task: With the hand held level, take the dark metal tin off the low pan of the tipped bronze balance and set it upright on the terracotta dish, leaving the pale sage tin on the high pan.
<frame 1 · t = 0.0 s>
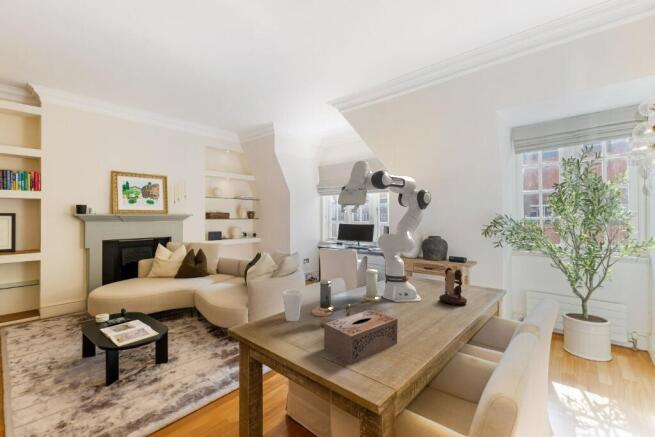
hand: (348, 212, 154), 52 cm above the table, tool tilted 20°, fingers open, 8 cm apart
light tin: (371, 296, 130), point 14 cm above the table, touching balance
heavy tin: (325, 306, 132), point 8 cm above the table, touching balance
foam cup: (292, 319, 138), on the table
brown wooden figurine: (452, 302, 167), on the table
tissue box cover: (361, 347, 111), on the table
balance: (347, 325, 131), on the table
dish: (321, 313, 147), on the table
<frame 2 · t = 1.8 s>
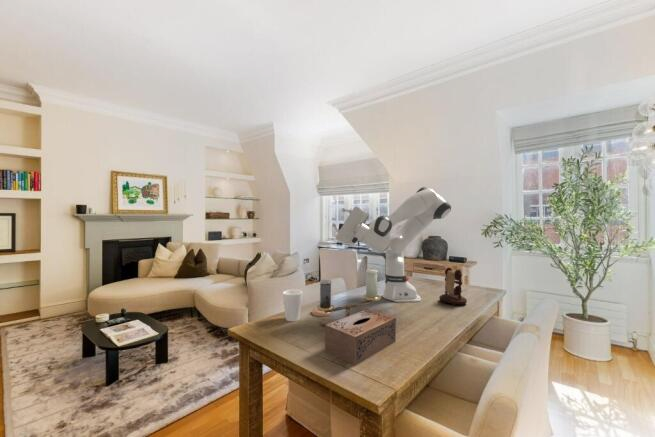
hand: (337, 216, 146), 50 cm above the table, tool pointing upward, fingers open, 8 cm apart
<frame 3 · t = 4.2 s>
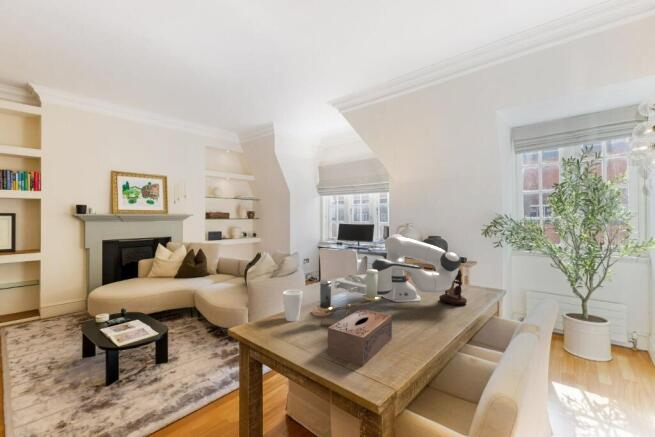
hand: (342, 288, 140), 14 cm above the table, tool horizontal, fingers open, 8 cm apart
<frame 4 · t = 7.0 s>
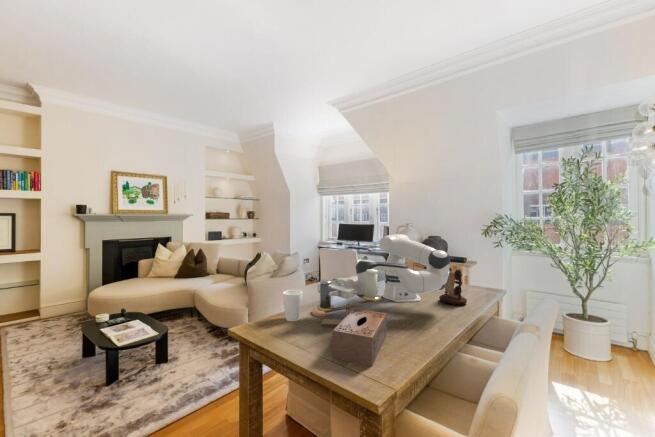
hand: (324, 292, 131), 15 cm above the table, tool horizontal, fingers closed on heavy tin, 5 cm apart
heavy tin: (325, 306, 132), point 8 cm above the table, touching balance, gripper
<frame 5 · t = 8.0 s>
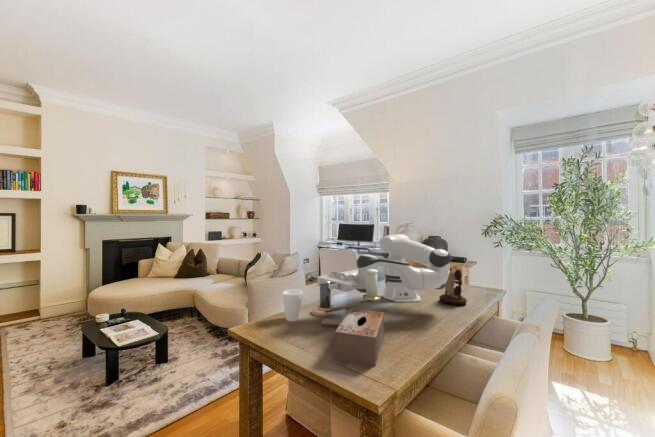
hand: (323, 285, 131), 18 cm above the table, tool horizontal, fingers closed on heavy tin, 5 cm apart
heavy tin: (325, 306, 132), point 8 cm above the table, touching gripper
when the fingers open (10 cm above the table, at t = 12.8 s): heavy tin stays where it is, resting on dish.
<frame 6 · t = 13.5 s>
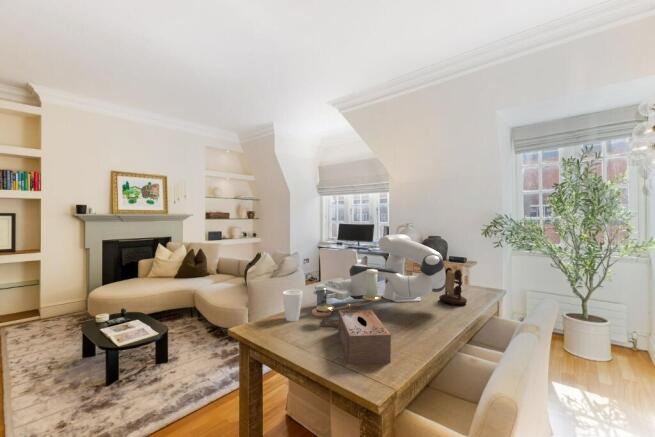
hand: (320, 294, 146), 10 cm above the table, tool horizontal, fingers open, 8 cm apart
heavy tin: (321, 310, 146), point 1 cm above the table, touching dish
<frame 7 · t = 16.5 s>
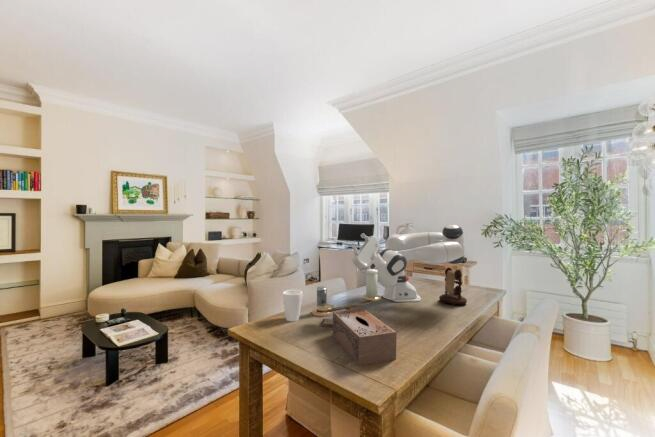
hand: (357, 239, 141), 39 cm above the table, tool pointing upward, fingers open, 8 cm apart
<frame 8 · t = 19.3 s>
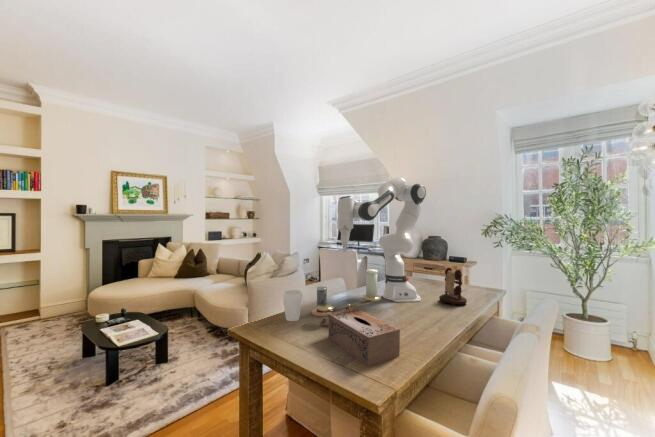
hand: (345, 250, 157), 31 cm above the table, tool pointing down, fingers open, 8 cm apart
at the end: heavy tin 0.3 cm off-centre on the dish, point 1.2 cm above the dish's base; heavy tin tilted 0°; light tin moved 0.1 cm from its start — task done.
